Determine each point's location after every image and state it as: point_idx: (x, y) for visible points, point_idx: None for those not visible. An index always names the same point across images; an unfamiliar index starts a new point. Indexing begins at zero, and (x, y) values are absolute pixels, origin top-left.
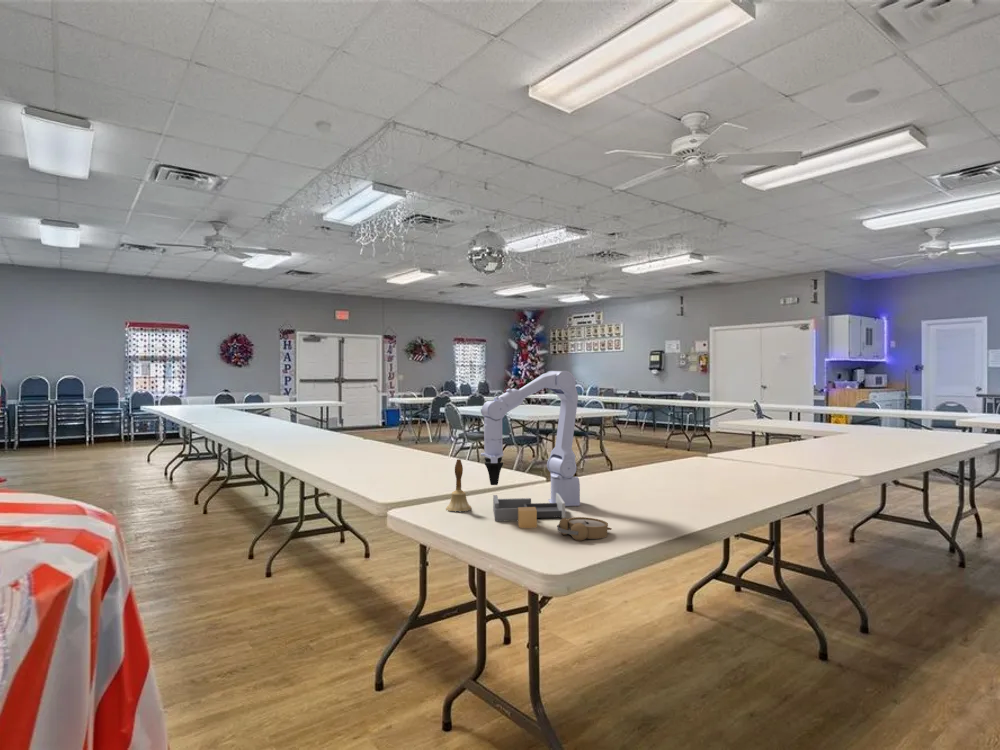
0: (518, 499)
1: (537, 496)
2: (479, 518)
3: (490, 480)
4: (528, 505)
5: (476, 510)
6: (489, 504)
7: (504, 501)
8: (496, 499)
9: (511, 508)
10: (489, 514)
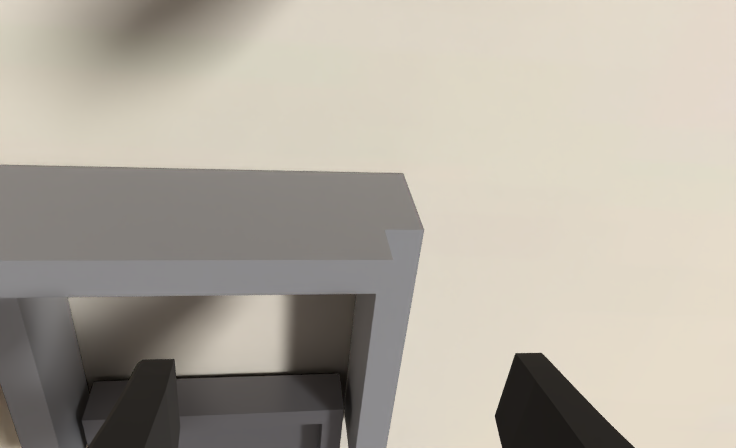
0: (359, 408)
1: (672, 445)
2: (93, 23)
3: (112, 418)
4: (320, 426)
5: (420, 15)
6: (600, 153)
7: (370, 306)
8: (176, 282)
9: (17, 358)
10: (248, 131)
